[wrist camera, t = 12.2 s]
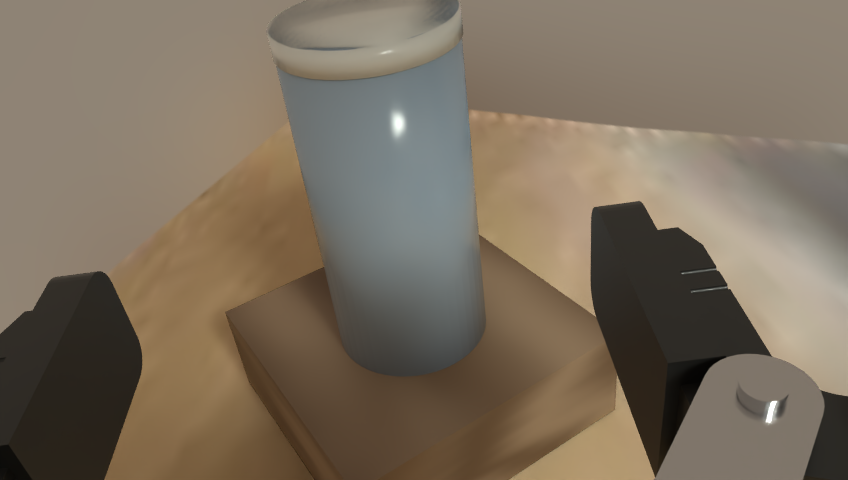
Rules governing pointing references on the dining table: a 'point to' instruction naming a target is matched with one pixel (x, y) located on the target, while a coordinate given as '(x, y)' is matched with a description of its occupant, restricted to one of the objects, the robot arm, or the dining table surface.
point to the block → (430, 383)
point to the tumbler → (387, 174)
